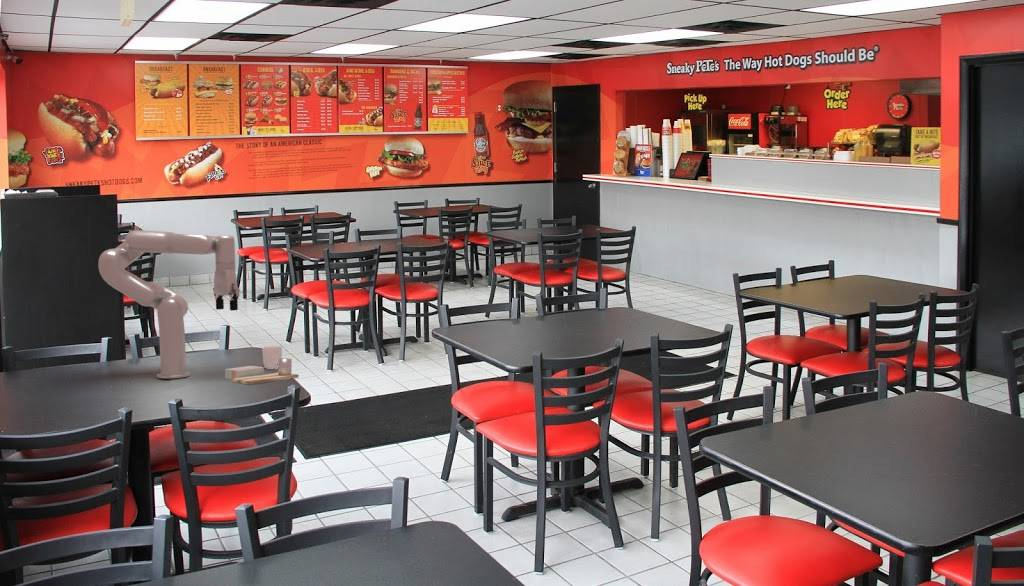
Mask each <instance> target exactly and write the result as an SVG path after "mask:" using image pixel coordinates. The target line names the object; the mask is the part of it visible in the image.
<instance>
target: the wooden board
mask: <svg viewBox="0 0 1024 586" xmlns="http://www.w3.org/2000/svg"><path fill="white" fill-rule="evenodd" d="M291 378H292V380H293V379H298V378H299V374H297V373H291V375H278V371H277V372H271V373H264V374H262V375H255V376H248V377H241V378H234V379H232V380H231V382H232V383H236V384H237V383H238V384H243V385H250V386H251V385H252V386H253V385H256V384H257V385H258V384H265V383H270V382H279V381H285V380H291Z"/></svg>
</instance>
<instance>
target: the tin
mask: <svg viewBox="0 0 1024 586" xmlns="http://www.w3.org/2000/svg"><path fill="white" fill-rule="evenodd" d="M292 362H293V361H292V358H282V359H279V361H278V369H277V372H278V375H291V374H292V371H293V370H292V366H293V365H292V364H293V363H292Z"/></svg>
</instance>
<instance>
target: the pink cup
mask: <svg viewBox="0 0 1024 586" xmlns="http://www.w3.org/2000/svg"><path fill="white" fill-rule="evenodd" d="M261 348H262V349H261V350H262V352H261V353H262V360H263V361H262V362H263V367H264V368H267V369H274V368H275V369H274V370H278V365H277V364H278V361H279V359H283V346H282V345H267V346H266V345H265V346H262V347H261ZM267 369H266V370H267Z"/></svg>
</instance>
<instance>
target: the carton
mask: <svg viewBox="0 0 1024 586" xmlns="http://www.w3.org/2000/svg"><path fill="white" fill-rule="evenodd" d="M262 374H265V369H264V366H257V365H245V366H239V367H232V368H224V379H225V380H229V381H232V379H234V378H241V377H248V376H255V375H262Z"/></svg>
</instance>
